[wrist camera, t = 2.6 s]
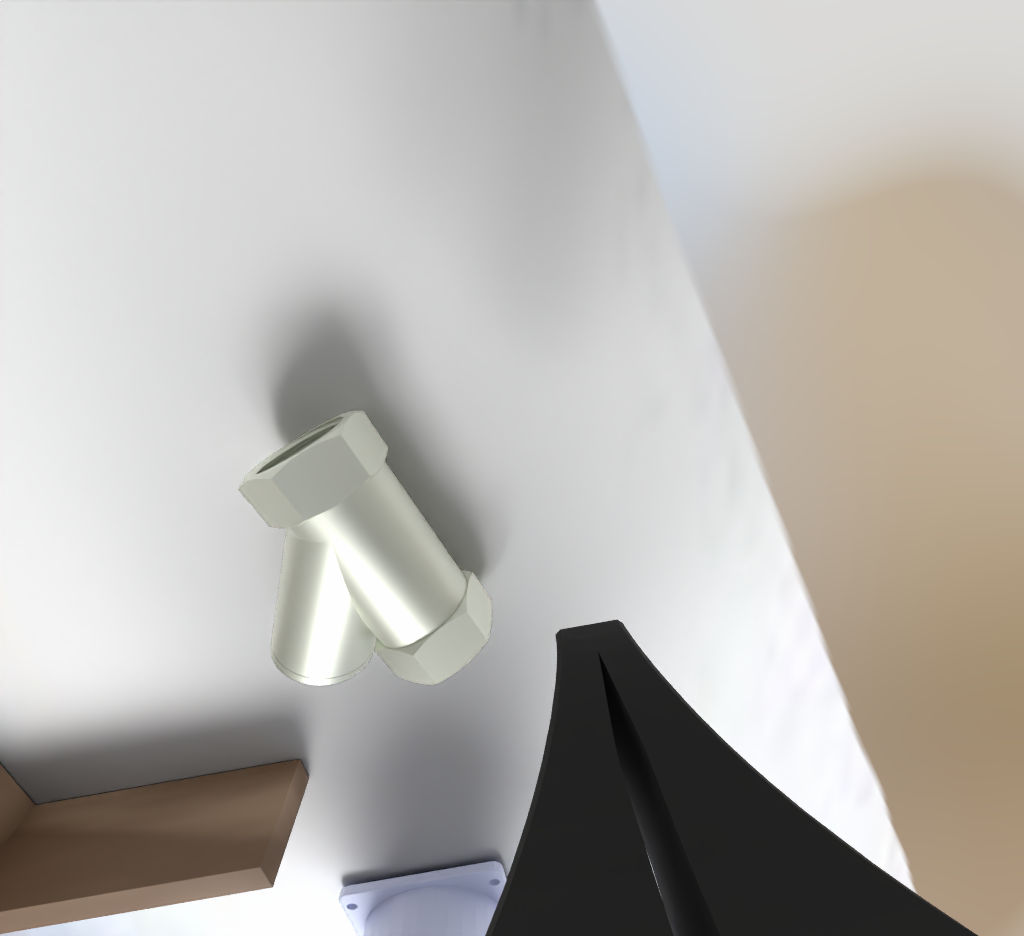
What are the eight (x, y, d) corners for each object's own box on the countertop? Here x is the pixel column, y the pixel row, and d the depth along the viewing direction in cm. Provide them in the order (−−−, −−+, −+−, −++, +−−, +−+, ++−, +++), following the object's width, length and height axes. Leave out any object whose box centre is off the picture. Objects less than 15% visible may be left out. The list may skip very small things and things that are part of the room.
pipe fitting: (344, 647, 19) (494, 584, 18) (304, 738, 16) (488, 669, 14) (203, 486, 16) (369, 396, 15) (115, 554, 13) (323, 444, 11)
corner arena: (309, 778, 21) (272, 887, 17) (23, 827, 21) (-73, 946, 18) (141, 439, 15) (29, 497, 11) (-257, 513, 15) (-495, 593, 11)
